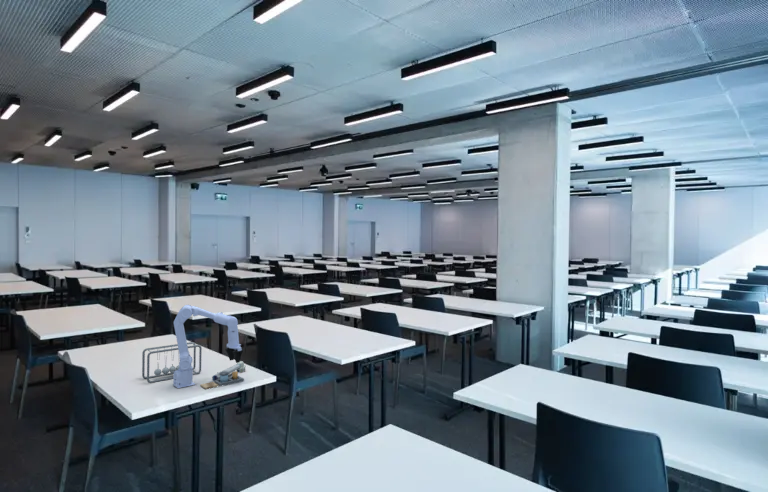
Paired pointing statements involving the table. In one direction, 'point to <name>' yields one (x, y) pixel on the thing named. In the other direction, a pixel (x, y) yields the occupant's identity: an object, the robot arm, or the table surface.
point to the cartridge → (224, 377)
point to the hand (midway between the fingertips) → (234, 361)
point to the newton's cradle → (166, 370)
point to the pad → (208, 385)
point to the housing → (229, 381)
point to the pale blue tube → (231, 370)
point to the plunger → (234, 375)
